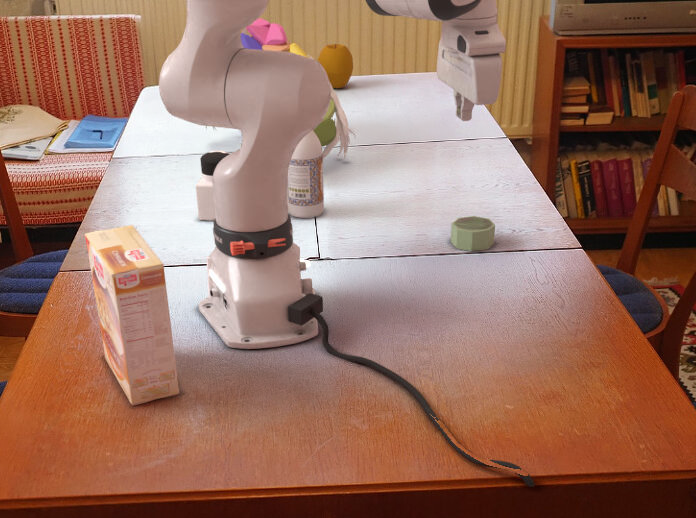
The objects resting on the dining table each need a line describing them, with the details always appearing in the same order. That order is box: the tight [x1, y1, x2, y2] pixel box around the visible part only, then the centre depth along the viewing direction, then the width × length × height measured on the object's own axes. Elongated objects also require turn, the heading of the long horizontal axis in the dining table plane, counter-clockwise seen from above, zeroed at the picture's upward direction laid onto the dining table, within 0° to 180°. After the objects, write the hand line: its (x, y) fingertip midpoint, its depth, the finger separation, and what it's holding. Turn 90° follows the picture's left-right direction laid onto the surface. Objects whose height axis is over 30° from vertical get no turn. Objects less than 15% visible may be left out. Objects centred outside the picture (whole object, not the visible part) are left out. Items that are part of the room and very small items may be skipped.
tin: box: [450, 215, 496, 252], centre depth 171 cm, size 4×7×7 cm
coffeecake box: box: [84, 224, 180, 406], centre depth 132 cm, size 15×7×20 cm, turn 23°
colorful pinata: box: [205, 17, 357, 160], centre depth 214 cm, size 32×29×35 cm
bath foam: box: [287, 130, 325, 219], centre depth 182 cm, size 7×7×20 cm
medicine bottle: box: [195, 150, 231, 222], centre depth 185 cm, size 7×7×12 cm
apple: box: [317, 42, 354, 89], centre depth 262 cm, size 10×10×12 cm
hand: (463, 118), depth 165 cm, fingers closed
